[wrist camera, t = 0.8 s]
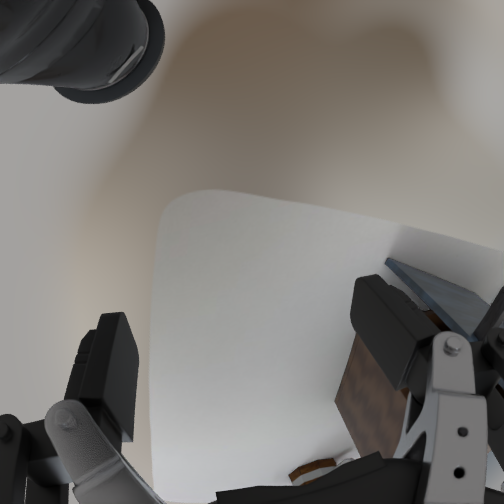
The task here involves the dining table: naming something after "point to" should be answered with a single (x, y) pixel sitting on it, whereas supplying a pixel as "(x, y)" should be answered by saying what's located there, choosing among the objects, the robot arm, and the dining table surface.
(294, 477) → the mug
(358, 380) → the cupboard
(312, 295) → the dining table surface
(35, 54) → the robot arm
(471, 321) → the cupboard door
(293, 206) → the dining table surface
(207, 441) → the dining table surface
